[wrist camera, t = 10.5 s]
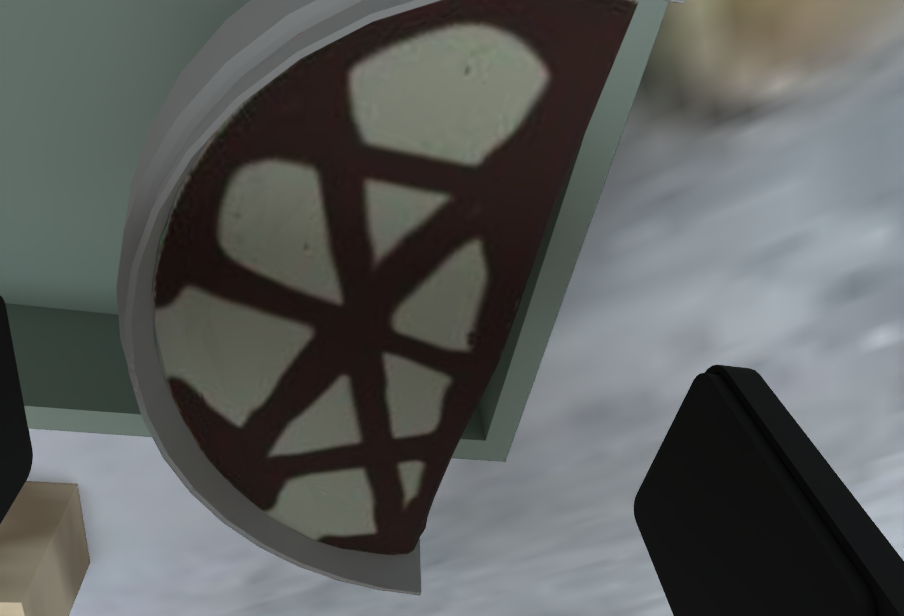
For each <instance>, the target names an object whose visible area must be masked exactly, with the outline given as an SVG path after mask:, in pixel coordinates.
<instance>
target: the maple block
mask: <svg viewBox="0 0 904 616" xmlns="http://www.w3.org/2000/svg"><path fill="white" fill-rule="evenodd" d="M89 564H90V559H89V553H88V547H87V540H86V534H85V528H84V522H83V516H82V510H81V504H80V497H79V491H78V485H77V484H68V483H50V482H32V481H26V482H25V484H24V485H23V487H22V489H21V490H20V492H19V494H18V495H17V497H16V499H15V500H14V502H13V504H12V505H11V507H10V509H9V511H8V512H7V514H6V516H5V517H4V519H3V521H2V522H1V524H0V616H69V614H70V611H71V609H72V606H73V604H74V601H75V599H76V596H77V594H78V591H79V589H80V586H81V584H82V581H83V579H84V576H85V574H86V571H87V569H88V566H89Z"/></svg>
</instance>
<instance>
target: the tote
mask: <svg viewBox="0 0 904 616" xmlns="http://www.w3.org/2000/svg"><path fill="white" fill-rule="evenodd" d="M249 1H250V0H0V296H2V298H3V299H4V302H5V305H6V310H7V315H8V320H9V326H10V331H11V337H12V342H13V348H14V353H15V359H16V364H17V370H18V375H19V381H20V386H21V391H22V397H23V402H24V408H25V413H26V419H27V424H28V428H31V429H45V430H59V431H73V432H88V433H102V434H116V435H131V436H145V437H152V436H151V434H150V432H149V430H148V428H147V426H146V424H145V422H144V420H143V418H142V416H141V413H140V409H139V406H138V402H137V399H136V396H135V392H134V389H133V386H132V382H131V379H130V375H129V372H128V364H127V361H126V358H125V354H124V351H123V347H122V344H121V340H120V328H119V315H118V303H117V290H116V287H117V279H118V271H119V263H120V255H121V248H122V240H123V232H124V226H125V219H126V213H127V207H128V200H129V194H130V188H131V182H132V179H133V176H134V173H135V170H136V167H137V164H138V161H139V158H140V155H141V152H142V149H143V146H144V143H145V140H146V137H147V134H148V131H149V128H150V126H151V124H152V123H153V121H154V119H155V117H156V116H157V114H158V112H159V110H160V109H161V107H162V105H163V103H164V102H165V100H166V98H167V96H168V95H169V93H170V91H171V89H172V87H173V86H174V84H175V82H176V80H177V79H178V77H179V75H180V73H181V72H182V71H183V69H184V68H185V67H186V66H187V65H188V64H189V62H190V61H191V60H192V59H193V58H194V57H195V55H196V54H197V53H198V52H199V51H200V50H201V48H202V47H203V46H204V45H205V44H206V43H207V41H208V40H209V39H210V38H211V37H212V36H213V35H214V33H215V32H216V31H217V30H218V29H219V28H220V26H221V25H222V24H223V23H224V22H225V21H226V19H228V18H229V17H230V16H231V15H233V14H234V13H235V12H236V11H238V10H239V9H240V8H241V7H243V6H244V5H245V4H246V3H248V2H249ZM636 1H637V2H639V3H638V5H637V7H636V10H635V12H634V15H633V17H632V20H631V22H630V25H629V27H628V29H627V32H626V34H625V37H624V39H623V42H622V44H621V47H620V49H619V51H618V54H617V56H616V59H615V61H614V64H613V66H612V68H611V71H610V73H609V76H608V78H607V81H606V83H605V86H604V88H603V90H602V93H601V95H600V98H599V100H598V103H597V105H596V108H595V110H594V112H593V115H592V117H591V120H590V122H589V125H588V127H587V130H586V132H585V134H584V137H583V139H582V142H581V144H580V147H579V149H578V152H577V154H576V156H575V159H574V161H573V164H572V166H571V169H570V171H569V174H568V176H567V178H566V181H565V183H564V186H563V188H562V191H561V193H560V196H559V198H558V200H557V203H556V205H555V208H554V211H553V213H552V216H551V219H550V222H549V224H548V227H547V230H546V232H545V235H544V238H543V240H542V243H541V246H540V249H539V251H538V254H537V257H536V259H535V262H534V265H533V268H532V270H531V273H530V276H529V278H528V281H527V284H526V287H525V290H524V293H523V296H522V299H521V302H520V305H519V308H518V311H517V314H516V317H515V319H514V322H513V325H512V328H511V331H510V333H509V336H508V339H507V342H506V344H505V347H504V350H503V353H502V356H501V358H500V361H499V363H498V365H497V367H496V370H495V372H494V373H493V375H492V377H491V379H490V381H489V383H488V385H487V388H486V390H485V392H484V394H483V396H482V398H481V400H480V402H479V404H478V406H477V408H476V409H475V411H474V413H473V415H472V417H471V419H470V421H469V423H468V424H467V426H466V428H465V430H464V432H463V434H462V436H461V438H460V441H459V443H458V445H457V447H456V449H455V451H454V453H453V455H452V457H451V458H459V459H473V460H488V461H502V462H505V461H506V458H507V455H508V453H509V450H510V447H511V444H512V441H513V439H514V436H515V433H516V430H517V427H518V425H519V422H520V419H521V416H522V413H523V410H524V408H525V405H526V402H527V399H528V396H529V394H530V391H531V388H532V385H533V382H534V380H535V377H536V374H537V371H538V368H539V365H540V363H541V360H542V357H543V354H544V351H545V349H546V346H547V343H548V340H549V337H550V335H551V332H552V329H553V326H554V323H555V320H556V318H557V315H558V312H559V309H560V306H561V304H562V301H563V298H564V295H565V292H566V289H567V287H568V284H569V281H570V278H571V275H572V273H573V270H574V267H575V264H576V261H577V259H578V256H579V253H580V250H581V247H582V244H583V242H584V239H585V236H586V233H587V230H588V228H589V225H590V222H591V219H592V216H593V214H594V211H595V208H596V205H597V202H598V199H599V197H600V194H601V191H602V188H603V185H604V183H605V180H606V177H607V174H608V171H609V169H610V166H611V163H612V160H613V157H614V154H615V152H616V149H617V146H618V143H619V140H620V138H621V135H622V132H623V129H624V126H625V124H626V121H627V118H628V115H629V112H630V109H631V107H632V104H633V101H634V98H635V95H636V93H637V90H638V87H639V84H640V81H641V78H642V76H643V73H644V70H645V67H646V64H647V62H648V59H649V56H650V53H651V50H652V48H653V45H654V42H655V39H656V36H657V33H658V31H659V28H660V25H661V22H662V19H663V17H664V14H665V11H666V8H667V5H668V3H669V1H664V0H636Z"/></svg>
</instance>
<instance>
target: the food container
mask: <svg viewBox="0 0 904 616" xmlns="http://www.w3.org/2000/svg"><path fill="white" fill-rule="evenodd" d="M664 1H671V2H677V3H683V4H684V2H685V0H664ZM638 3H639V2H637V1H636V0H250V1H249V2H248V3H246V4H245V5H244V6H243V7H241V8H240V9H239V10H238V11H236V12H235V13H234V14H233V15H231V16H230V17H229V18H228V19H226V21H225V22H224V23H223V24H222V25H221V26H220V28H219V29H218V30H217V31H216V32H215V33H214V35H213V36H212V37H211V38H210V39H209V40H208V41H207V43H206V44H205V45H204V46H203V47H202V48H201V50H200V51H199V52H198V53H197V54H196V55H195V57H194V58H193V59H192V60H191V61H190V62H189V64H188V65H187V66H186V67H185V68H184V69H183V71H182V72H181V73H180V75H179V77H178V79H177V80H176V82H175V84H174V86H173V87H172V89H171V91H170V93H169V95H168V96H167V98H166V100H165V102H164V103H163V105H162V107H161V109H160V110H159V112H158V114H157V116H156V117H155V119H154V121H153V123H152V124H151V126H150V128H149V131H148V134H147V137H146V140H145V143H144V146H143V149H142V152H141V155H140V158H139V161H138V164H137V167H136V170H135V173H134V176H133V179H132V182H131V188H130V194H129V200H128V207H127V213H126V219H125V226H124V232H123V240H122V248H121V255H120V263H119V271H118V279H117V287H116V290H117V303H118V315H119V328H120V340H121V344H122V347H123V351H124V354H125V358H126V361H127V364H128V372H129V375H130V379H131V382H132V386H133V389H134V392H135V396H136V399H137V402H138V406H139V409H140V413H141V416H142V418H143V420H144V422H145V424H146V426H147V428H148V430H149V432H150V434H151V436H152V437H153V439H154V441H155V443H156V445H157V447H158V449H159V451H160V453H161V454H162V456H163V458H164V459H165V461H166V462H167V463H168V465H169V466H170V467H171V468H172V470H173V471H174V472H175V473H176V475H177V476H178V477H179V479H180V480H181V481H182V482H183V484H184V485H185V486H186V487H187V489H188V490H189V491H190V493H191V494H192V495H194V496H195V497H196V498H197V499H198V500H199V501H200V502H201V503H202V504H203V505H204V506H206V507H207V508H208V509H209V510H210V511H211V512H212V513H213V514H214V515H215V516H216V517H218V518H219V519H220V520H221V521H222V522H223V523H224V524H226V525H227V526H229V527H230V528H232V529H233V530H235V531H236V532H238V533H239V534H241V535H242V536H244V537H245V538H247V539H248V540H250V541H251V542H253V543H254V544H256V545H257V546H259V547H260V548H262V549H264V550H266V551H268V552H270V553H272V554H274V555H276V556H278V557H280V558H282V559H284V560H286V561H288V562H290V563H293V564H295V565H297V566H299V567H302V568H304V569H307V570H310V571H313V572H316V573H319V574H321V575H324V576H327V577H330V578H333V579H335V580H338V581H342V582H347V583H351V584H356V585H360V586H364V587H369V588H373V589H378V590H383V591H390V592H398V593H406V594H413V595H420V594H421V573H420V539H419V538H420V536H421V534H422V533H423V531H424V529H425V528H426V522H427V516H428V514H429V511H430V508H431V505H432V502H433V499H434V497H435V495H436V492H437V490H438V488H439V485H440V483H441V481H442V478H443V476H444V474H445V471H446V469H447V467H448V464H449V462H450V460H451V457H452V455H453V453H454V451H455V449H456V447H457V445H458V443H459V441H460V438H461V436H462V434H463V432H464V430H465V428H466V426H467V424H468V423H469V421H470V419H471V417H472V415H473V413H474V411H475V409H476V408H477V406H478V404H479V402H480V400H481V398H482V396H483V394H484V392H485V390H486V388H487V385H488V383H489V381H490V379H491V377H492V375H493V373H494V372H495V370H496V367H497V365H498V363H499V361H500V358H501V356H502V353H503V350H504V347H505V344H506V342H507V339H508V336H509V333H510V331H511V328H512V325H513V322H514V319H515V317H516V314H517V311H518V308H519V305H520V302H521V299H522V296H523V293H524V290H525V287H526V284H527V281H528V278H529V276H530V273H531V270H532V268H533V265H534V262H535V259H536V257H537V254H538V251H539V249H540V246H541V243H542V240H543V238H544V235H545V232H546V230H547V227H548V224H549V222H550V219H551V216H552V213H553V211H554V208H555V205H556V203H557V200H558V198H559V196H560V193H561V191H562V188H563V186H564V183H565V181H566V178H567V176H568V174H569V171H570V169H571V166H572V164H573V161H574V159H575V156H576V154H577V152H578V149H579V147H580V144H581V142H582V139H583V137H584V134H585V132H586V130H587V127H588V125H589V122H590V120H591V117H592V115H593V112H594V110H595V108H596V105H597V103H598V100H599V98H600V95H601V93H602V90H603V88H604V86H605V83H606V81H607V78H608V76H609V73H610V71H611V68H612V66H613V64H614V61H615V59H616V56H617V54H618V51H619V49H620V47H621V44H622V42H623V39H624V37H625V34H626V32H627V29H628V27H629V25H630V22H631V20H632V17H633V15H634V12H635V10H636V7H637V5H638Z"/></svg>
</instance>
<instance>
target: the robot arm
mask: <svg viewBox="0 0 904 616" xmlns="http://www.w3.org/2000/svg"><path fill="white" fill-rule="evenodd" d="M32 458H33V453H32V446H31V441H30V435H29V430H28V424H27V419H26V413H25V408H24V402H23V397H22V391H21V386H20V381H19V375H18V370H17V364H16V359H15V353H14V348H13V342H12V337H11V331H10V326H9V320H8V315H7V310H6V305H5V302H4V299H3V298H2V296H0V524H1V522H2V521H3V519H4V517H5V516H6V514H7V512H8V511H9V509H10V507H11V505H12V504H13V502H14V500H15V499H16V497H17V495H18V494H19V492H20V490H21V489H22V487H23V485H24V484H25V482H26V480H27V478H28V476H29V473H30V470H31V465H32ZM634 515H635V519H636V522H637V525H638V527H639V530H640V532H641V535H642V537H643V540H644V542H645V545H646V547H647V550H648V552H649V555H650V557H651V560H652V562H653V565H654V567H655V570H656V572H657V575H658V577H659V580H660V582H661V585H662V587H663V590H664V592H665V595H666V597H667V600H668V602H669V605H670V607H671V610H672V612H673V615H674V616H904V561H903V560H902V558H901V557H900V556H899V555H898V553H897V552H896V551H895V549H894V548H893V547H892V545H891V544H890V543H889V542H888V540H887V539H886V538H885V536H884V535H883V534H882V533H881V531H880V530H879V529H878V527H877V526H876V525H875V523H874V522H873V521H872V520H871V518H870V517H869V516H868V514H867V513H866V512H865V510H864V509H863V508H862V507H861V505H860V504H859V503H858V501H857V500H856V499H855V498H854V496H853V495H852V494H851V492H850V491H849V490H848V488H847V487H846V486H845V485H844V483H843V482H842V481H841V479H840V478H839V477H838V476H837V474H836V473H835V472H834V470H833V469H832V468H831V466H830V465H829V464H828V463H827V461H826V460H825V459H824V457H823V456H822V455H821V453H820V452H819V451H818V450H817V448H816V447H815V446H814V444H813V443H812V442H811V441H810V439H809V438H808V437H807V435H806V434H805V433H804V431H803V430H802V429H801V428H800V426H799V425H798V424H797V422H796V421H795V420H794V418H793V417H792V416H791V415H790V413H789V412H788V411H787V409H786V408H785V407H784V406H783V404H782V403H781V402H780V400H779V399H778V398H777V396H776V395H775V394H774V393H773V391H772V390H771V389H770V387H769V386H768V385H767V383H766V382H765V381H764V380H763V378H762V377H761V376H760V374H758V373H757V372H756V371H755V370H752V369H749V368H741V367H732V366H723V365H714V366H711V367H710V368H709V369H707V371H706V372H705V373H701V374H699V375H698V376H696V378H695V379H694V381H693V383H692V385H691V387H690V389H689V391H688V393H687V395H686V397H685V399H684V401H683V403H682V405H681V407H680V409H679V411H678V413H677V415H676V417H675V419H674V421H673V423H672V425H671V427H670V429H669V431H668V433H667V435H666V437H665V439H664V441H663V443H662V445H661V447H660V449H659V451H658V453H657V455H656V457H655V459H654V461H653V463H652V465H651V467H650V469H649V471H648V473H647V475H646V477H645V479H644V481H643V483H642V485H641V487H640V489H639V491H638V493H637V495H636V497H635V502H634Z"/></svg>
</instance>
